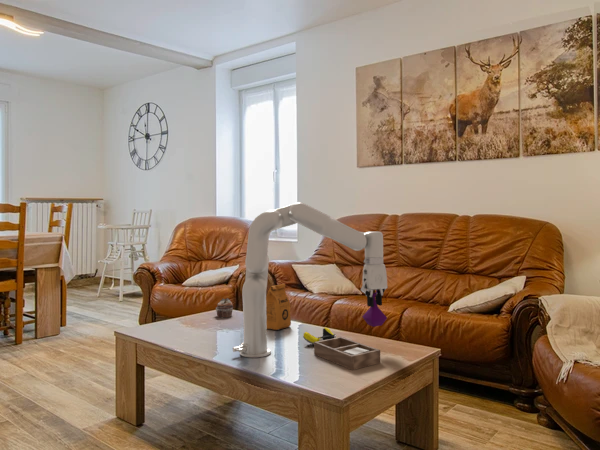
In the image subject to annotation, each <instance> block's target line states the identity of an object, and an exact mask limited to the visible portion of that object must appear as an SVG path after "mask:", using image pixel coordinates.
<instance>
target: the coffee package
mask: <svg viewBox="0 0 600 450" xmlns="http://www.w3.org/2000/svg"><path fill="white" fill-rule="evenodd" d="M285 288H286V284H285V283H282V284H277V285H271V286H269V289H268V290H267V291H268V292H266V315H267V330H275V331H277V330H282V329H286V328H289V327H291V325H292V317H291V314H292V313H291V310H292V309H291V302H290V300H289V299H290V298H289V296H288V295H287V293H286V289H285Z"/></svg>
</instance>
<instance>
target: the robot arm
mask: <svg viewBox="0 0 600 450" xmlns="http://www.w3.org/2000/svg"><path fill="white" fill-rule="evenodd" d="M296 224H299V225H301V226H303V227H304V228H306V229H309V230H310V231H312V232H314V233H317V234H319V235H320V236H323V237H325V238H329V239H331V240H333V241H336V242H337V243H339V244H341V245H343V246H345V247H347V248H350V249H351V250H353V251H356V252H357V251H361V250H364V259H363V263H364V264H363V269H362V282H361V283H362V286H361V288H360V291H361V292H362V293H364V294H365V296H366V305H367V307H369V308H370V307H373V306H374V301H373V297H372V294H373V290H375V292H376V293H377V294H376V296H375V300H376V303H377V306H383V296H384V293H385V291H386V289H388V274H387V268H386V265H385V264H384V234H383V232H381V231H366V232H364V231H360V230H357V229H355V228H353V227H350V226H348V225H347V224H345V223H342V222H341V221H339V220H337V219H336V218H334V217H332V216H330V215H328V214H326V213H324V212H322V211H320V210H318V209H316V208H314V207H312V206H310V205H308V204H306V203H304V202H301V201H298V202H297V201H296V202H294V203H292V204H289V205H286V206H283V207H280V208H279V207H278V208H276V209H275V208H274V209H269V210H266V211H264V212H262V213H260V214H258V215H257V216H256V217H255V218H254V219H253V221H252V222H251V224H250V226H249V230H248V236H247V245H246V255H245V261H244V262H245V279H244V283H243V286H242V292H241V293H242V296H241V297H242V310H243V311H242V317H243V319H242V322H243V323H242V324H243V342H241V344H240V345H239V346H232V352H233V353H235V352H238V353H239V354H240V356H241V357H245V358H252V359H253V358H262V357H263V358H264V357H267V356H269V355H270V354H271V351H272V350H271V348H269V347H268V334H267V333H268V332H267V330H268V329H267V315H266V296H267V288H268V278H269V277H268V276H269V264H270V263H269V262H270V259H269V256H268V252H269V251H268V250H269V249H268V248H269V240H270V239H269V238H270V235H271V233H272V232H273V231H277V230H278V229H279V230H280V229H283V228H286V227H289V226H293V225H296ZM369 291H370V293H369Z"/></svg>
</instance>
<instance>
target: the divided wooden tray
mask: <svg viewBox="0 0 600 450" xmlns="http://www.w3.org/2000/svg"><path fill="white" fill-rule="evenodd" d="M357 347H358V348H362V349H365V350H369V352H365V353H361V354H356V355H350V354H347V353H345V352H343V351H346V350H350V349H353V348H357ZM313 354H314V356H317V357H320V358H322V359H325V360H327V361H329V362H332V363H334V364H337V365H339V366H341V367H342V368H346V369H348V370H351V371H353V370H358V369H362V368H365V367H369V366H370V367H371V366H374V365H378V364H381V349H378V348H375V347H373V346H370V345H366V344H363V343H360V342H357V341H354V340H353V339H352V340H351V339H348V338H346V337H342V336H339V337H336V338H333V339H328V340H323V341H317V342H314V345H313Z"/></svg>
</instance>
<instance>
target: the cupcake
mask: <svg viewBox="0 0 600 450" xmlns="http://www.w3.org/2000/svg"><path fill="white" fill-rule="evenodd" d="M233 309H234V304H233V302H232V301H231V300H230V298H222V299H221V300H220V301H219V302H218V303H217V306H216V307H215V312H216V314H217V318H221V317H225V318H231V317H232V314H233Z"/></svg>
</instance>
